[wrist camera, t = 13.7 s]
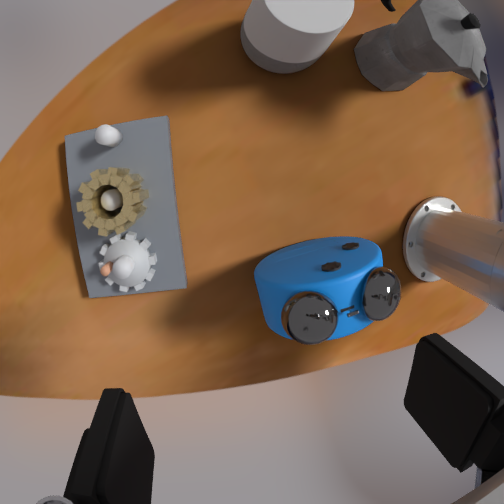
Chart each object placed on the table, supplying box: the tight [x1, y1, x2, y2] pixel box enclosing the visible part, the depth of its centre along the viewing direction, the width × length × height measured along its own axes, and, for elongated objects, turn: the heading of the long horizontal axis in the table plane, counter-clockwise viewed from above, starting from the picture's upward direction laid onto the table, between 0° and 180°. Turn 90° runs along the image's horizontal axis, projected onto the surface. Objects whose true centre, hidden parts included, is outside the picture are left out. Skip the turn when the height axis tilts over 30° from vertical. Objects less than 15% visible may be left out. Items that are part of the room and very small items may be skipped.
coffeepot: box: [354, 0, 488, 91], centre depth 24 cm, size 15×9×18 cm, turn 36°
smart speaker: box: [240, 0, 354, 73], centre depth 24 cm, size 10×9×14 cm
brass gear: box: [76, 167, 149, 237], centre depth 29 cm, size 6×6×5 cm
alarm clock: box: [254, 237, 401, 345], centre depth 31 cm, size 13×6×15 cm, turn 104°
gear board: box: [65, 116, 187, 298], centre depth 31 cm, size 12×19×6 cm, turn 5°
